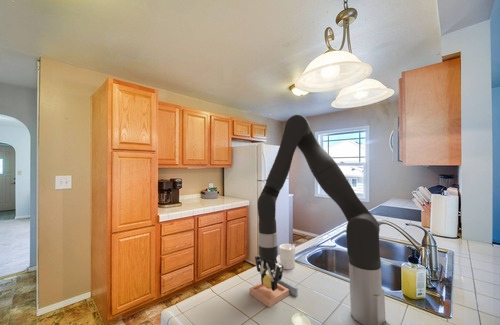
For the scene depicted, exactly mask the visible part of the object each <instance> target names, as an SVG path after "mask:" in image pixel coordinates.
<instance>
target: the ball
mask: <svg viewBox="0 0 500 325" xmlns="http://www.w3.org/2000/svg"><path fill="white" fill-rule="evenodd" d="M266 274H267V273H266ZM271 281H272V280H271V276H270V275H269V273H268V274H267V275H265V276H264V278H263V285H264V286H265V287H266V288H268V289H271Z"/></svg>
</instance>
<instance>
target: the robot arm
mask: <svg viewBox="0 0 500 325" xmlns="http://www.w3.org/2000/svg"><path fill="white" fill-rule="evenodd" d="M297 147H298V149H299V150H300V152H301V154H303V156H304V159H305V160H306V163H307V166H308V168H309V170H310V171H311V173H312V175H313V177H314V179H315V180H316V182H317V183H318V185H319V187H320V188H321V189H322V191H323V192H324V193H325V194H326V195H327V196H328V197H329V198H330V199H331V200H332V201H333V202H334V203H335V204H336V205H337V207H339V209H340V210H341V212H342V213H343V215H344V217H345V219H346V221H347V224H346V232H345V235H346V250H347V255H348V268H349V270H348V274H349V298H350V299H349V300H350V315H351V317H352V318H353V320H355V321H356V322H358V323H359V324H361V325H383V324H384V323H385V322H386V303H385V301H386V298H385V290H384V288H383V287H382V286H383V285H382V284H383V283H382V268H381V267H382V266H381V265H382V262H381V261H382V260H381V253H380V252H381V251H380V250H381V249H380V230H381V229H380V224H379V222H378V220H377V219H376V218H375V217H374V215H373V214H372V213H371V212H370V210H369V209H367V207H366V205H364V203H363V202H362V201H361V200H360V198H359V197H358V195H357V194H356V193H355V190H354V188H353V187H352V186H351V184H350V182H349V180H348V179H347V178H346V175H345V174H344V172H343V171H342V170H341V168H340V167H339V165H338V163H337V162H336V161H335V160H334V158H332V156H331V155H330V154H329V153H328V152H327V151H326V150H325V149H324V148H323V147H322V145H321V144H320V142H318V139H317V138H316V137H315V135H314V133H313V130H312V128H311V125H310V123H309V121H308V119H307V117H305V116H304V115H302V114H294V115H291V116H290V117H289V118H288V119H287V120H286V122H285V124H284V129H283V132H282V137H281V142H280V145H279V148H278V151H277V152H276V156H275V159H274V160H273V164H272V166H271V169H270V171H269V173H268V175H267V177H266V182H265V185H264V186H263V188H262V191H261V192H260V195H259V197H258V198H257V214H258V215H257V216H258V238H257V239H258V241H257V244H258V254H257V255H256V256H254V259H255V266H256V271H257V272H258V273H259V274H260V281H261V282H262V284H263V278H264V276H265V275H267V271H268V274H269V275H270V276H271V280H272V281H271V288H272V291H275V290H276V289H277V281H279V280H281V279H282V278H283V272H284V269H283V265H281V264H279V262H278V260H277V258H278V254H279V252H278V251H279V249H278V248H279V245H278V232H277V220H276V213H277V212H276V208H277V207H276V204H277V200H278V197H279V194H280V192H281V190H282V188H283V187H284V185H285V182H286V180H287V178H288V176H289V173H290V171H291V170H290V169H291V166H292V162H293V158H294V155H295V152H296V149H297ZM273 275H274V276H275V277H274V276H273ZM282 280H283V279H282ZM261 282H260V283H261Z"/></svg>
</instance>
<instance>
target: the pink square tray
mask: <svg viewBox="0 0 500 325" xmlns="http://www.w3.org/2000/svg"><path fill="white" fill-rule="evenodd" d="M249 295H251V296H252V297H254V298H255V299H256V300H258V301H259V302H261V303H262V304H264V306H265V305H266V306H267V307H268V308H270V307H272V306H274V305H275V304H276V303H278V302H280V301H282V300H283V299H285V298H287V297H288V296H290V293H289V289H287V288H285V287H284V286H282V285H280V284H278V283H277V289H276V290H275V291H272V288H271V289H268V288H266V287H265V286H264V285H263V284H262V282H259V283H257V284H255V285H253V286H252V287H249Z"/></svg>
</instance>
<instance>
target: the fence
mask: <svg viewBox="0 0 500 325" xmlns="http://www.w3.org/2000/svg"><path fill="white" fill-rule="evenodd" d="M273 276H274V274H273ZM274 277H275V276H274ZM277 283H278V284H280V285H282V286H284V287H285V288H287V289H289V295H292V296H293V297H298V295H299V294H298V292H299V290H298V287H297V286H295V285H293V284H291V283H290V282H288V281H285V280H284V279H281V280H279V281H277Z"/></svg>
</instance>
